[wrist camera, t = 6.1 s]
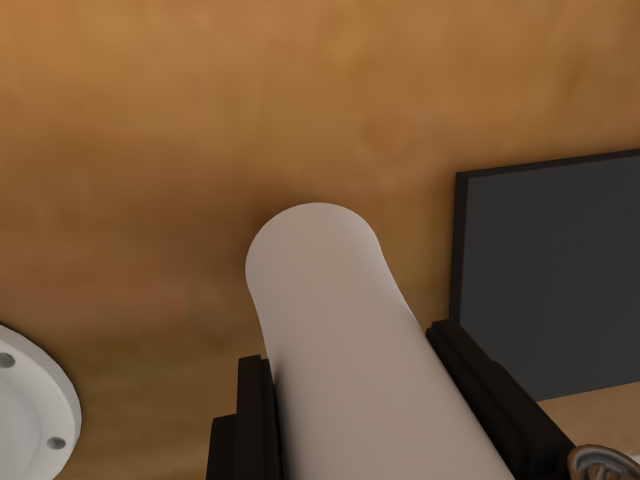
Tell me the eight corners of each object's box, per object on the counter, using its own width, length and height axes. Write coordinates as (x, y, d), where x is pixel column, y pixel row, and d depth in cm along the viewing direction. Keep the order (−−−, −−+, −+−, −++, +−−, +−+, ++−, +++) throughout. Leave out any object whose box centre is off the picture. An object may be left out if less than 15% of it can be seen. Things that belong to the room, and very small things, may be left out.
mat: (444, 403, 24) (453, 418, 23) (455, 172, 18) (468, 177, 17) (745, 345, 26) (766, 356, 25) (840, 122, 21) (872, 124, 20)
